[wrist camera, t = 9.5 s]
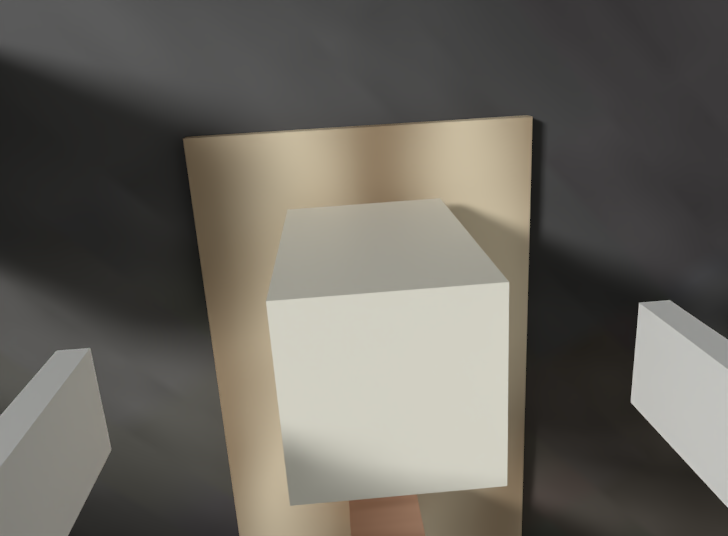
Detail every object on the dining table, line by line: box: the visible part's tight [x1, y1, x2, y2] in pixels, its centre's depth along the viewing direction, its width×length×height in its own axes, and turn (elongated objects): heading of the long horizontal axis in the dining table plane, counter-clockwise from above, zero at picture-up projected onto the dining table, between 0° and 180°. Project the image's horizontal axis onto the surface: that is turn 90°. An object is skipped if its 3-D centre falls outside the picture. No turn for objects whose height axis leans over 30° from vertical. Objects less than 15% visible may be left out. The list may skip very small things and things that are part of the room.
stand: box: [183, 115, 533, 536], centre depth 21 cm, size 12×20×10 cm, turn 3°
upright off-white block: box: [266, 198, 509, 506], centre depth 19 cm, size 5×5×9 cm
